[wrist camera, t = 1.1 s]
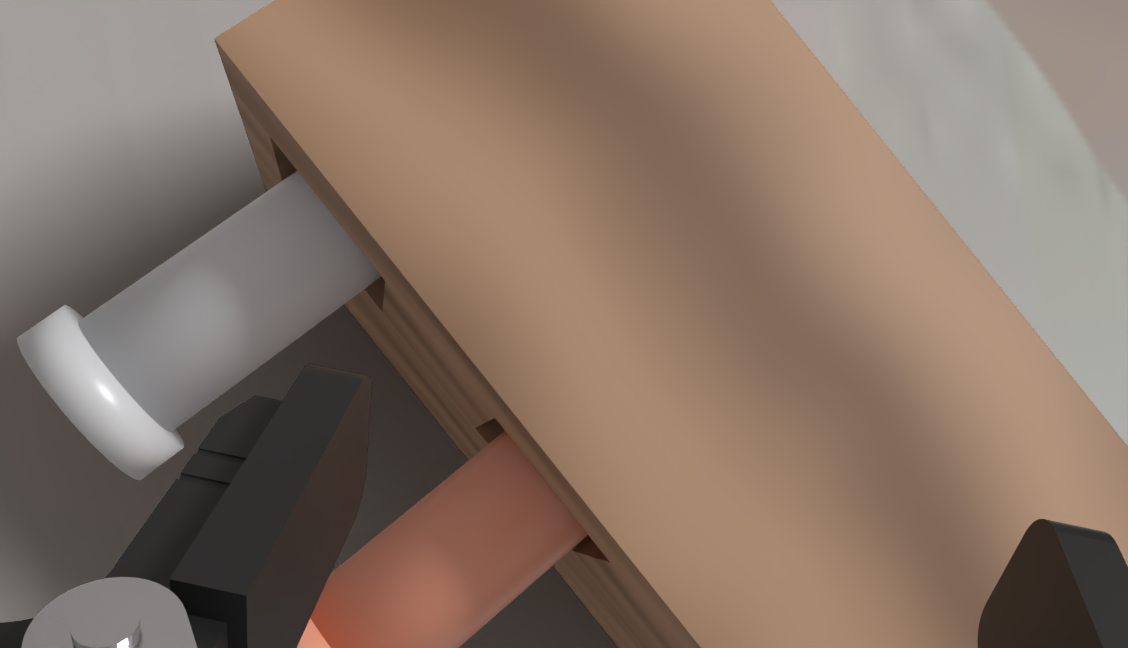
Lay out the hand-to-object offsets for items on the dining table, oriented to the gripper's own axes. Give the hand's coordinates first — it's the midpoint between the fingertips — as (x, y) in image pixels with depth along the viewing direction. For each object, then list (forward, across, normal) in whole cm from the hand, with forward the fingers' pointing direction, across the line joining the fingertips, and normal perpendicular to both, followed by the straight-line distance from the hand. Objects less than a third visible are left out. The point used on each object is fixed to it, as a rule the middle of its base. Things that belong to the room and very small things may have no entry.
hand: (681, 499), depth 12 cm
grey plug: (+10, +8, +4) cm, 13 cm away
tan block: (+15, +1, +9) cm, 18 cm away
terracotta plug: (+8, +2, +7) cm, 11 cm away
